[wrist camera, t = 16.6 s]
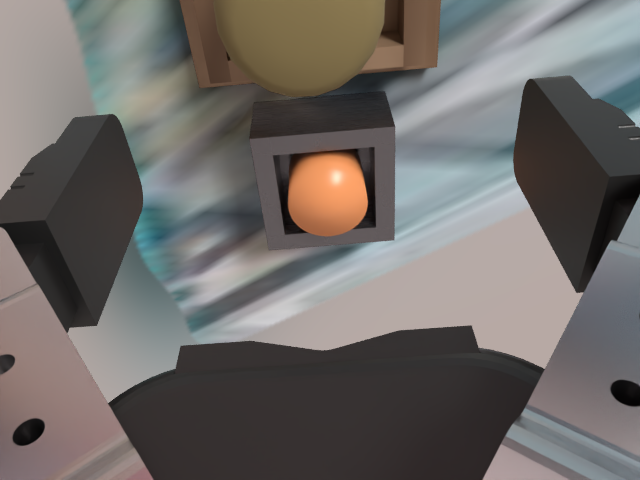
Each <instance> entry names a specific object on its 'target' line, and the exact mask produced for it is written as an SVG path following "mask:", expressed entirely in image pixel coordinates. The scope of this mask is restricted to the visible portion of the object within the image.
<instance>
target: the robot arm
mask: <svg viewBox="0 0 640 480" xmlns="http://www.w3.org/2000/svg"><path fill="white" fill-rule="evenodd" d="M513 163H514V172H515V177H516V180H517V183H518V185H519V186H520V188H521V190H522V192H523V194H524V196H525V198H526V199H527V201H528V203H529V205H530V207H531V209H532V211H533V212H534V214H535V216H536V218H537V220H538V222H539V224H540V226H541V227H542V229H543V231H544V233H545V235H546V236H547V238H548V240H549V242H550V244H551V246H552V248H553V250H554V251H555V254H556V255H557V257H558V259H559V261H560V263H561V265H562V266H563V268H564V270H565V272H566V274H567V276H568V278H569V280H570V281H571V283H572V285H573V287H574V289H575V291H576V292H577V293H580V292H584V293H583V295H582V297H581V299H580V301H579V304H578V305H577V307H576V309H575V311H574V313H573V315H572V317H571V319H570V321H569V323H568V325H567V327H566V329H565V331H564V333H563V335H562V337H561V338H560V340H559V342H558V344H557V346H556V348H555V350H554V352H553V354H552V356H551V358H550V360H549V362H548V364H547V366H546V368H545V369H543V368H542V367H539V366H537V365H535V364H533V363H530V362H528V361H526V360H524V359H521V358H518V357H515V356H512V355H509V354H506V353H502V352H497V351H494V350H489V349H483V348H478V345H477V342H476V339H475V335H474V332H473V329H472V326H457V327H443V328H429V329H415V330H401V331H396V332H392V333H389V334H385V335H382V336H378V337H374V338H371V339H367V340H364V341H360V342H357V343H353V344H350V345H346V346H343V347H339V348H336V349H332V350H324V351H321V350H312V349H305V348H298V347H291V346H283V345H276V344H269V343H262V342H255V341H243V342H229V343H215V344H201V345H186V346H181V347H180V352H179V356H178V360H177V365H176V369H173V370H170V371H167V372H164V373H161V374H159V375H156V376H154V377H151V378H149V379H147V380H145V381H143V382H141V383H139V384H137V385H135V386H133V387H132V388H130V389H128V390H127V391H125V392H124V393H122V394H120V395H119V396H117V397H116V398H115V399H113V400H112V401H111V402H109V403H107V401H106V399H105V398H104V396H103V394H102V393H101V391H100V389H99V387H98V386H97V384H96V382H95V381H94V379H93V377H92V375H91V374H90V372H89V370H88V369H87V367H86V365H85V363H84V362H83V360H82V358H81V357H80V355H79V353H78V352H77V350H76V348H75V346H74V345H73V343H72V341H71V340H70V338H69V336H68V335H67V333H68V330H69V328H70V327H84V326H97V324H98V321H99V319H100V316H101V314H102V311H103V308H104V306H105V303H106V301H107V298H108V296H109V293H110V291H111V288H112V285H113V283H114V280H115V278H116V275H117V273H118V270H119V267H120V265H121V262H122V260H123V257H124V255H125V252H126V250H127V247H128V245H129V242H130V239H131V237H132V234H133V232H134V229H135V227H136V224H137V222H138V219H139V216H140V214H141V211H142V207H143V191H142V185H141V182H140V178H139V175H138V172H137V169H136V166H135V163H134V160H133V158H132V155H131V152H130V149H129V146H128V143H127V140H126V137H125V134H124V131H123V128H122V125H121V123H120V121H119V119H118V118H117V117H116V116H115V115H113V114H108V115H96V116H85V117H75V118H73V119H72V121H71V122H70V124H69V125H68V126H67V128H66V129H65V130H64V132H63V133H62V135H61V136H60V137H59V139H58V140H57V142H56V143H55V144H51V145H50V146H48V147H47V148H45V149H44V150H43V151H41V152H40V153H38V154H37V155H35V156H34V157H33V158H31V160H30V161H29V162H28V164H27V165H26V166H25V168H24V169H23V171H22V172H21V173H20V177H17V178H16V180H15V181H14V182H13V184H12V185H11V190H8V191H7V192H6V193H5V195H4V196H3V197H2V199H1V200H0V480H640V128H639V127H635V123H634V122H633V121H632V120H631V119H630V118H629V117H628V116H627V115H626V114H625V113H624V112H623V111H622V110H621V109H619V108H617V107H615V106H613V105H611V104H609V103H607V102H604V101H602V100H600V99H592V98H591V97H590V96H589V95H588V93H587V92H586V91H585V90H584V89H583V88H582V87H581V86H580V85H579V84H578V83H577V82H576V80H575V79H574V78H573V77H571V76H559V77H547V78H535V79H529V80H528V81H527V82H526V84H525V87H524V90H523V95H522V102H521V108H520V115H519V121H518V128H517V134H516V141H515V147H514V157H513Z"/></svg>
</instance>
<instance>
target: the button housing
mask: <svg viewBox="0 0 640 480" xmlns="http://www.w3.org/2000/svg"><path fill="white" fill-rule="evenodd" d="M249 140H250V146H251V151H252V157H253V163H254V168H255V174H256V179H257V185H258V191H259V196H260V202H261V208H262V213H263V219H264V225H265V230H266V236H267V241H268V247H269V250H279V249H291V248H304V247H316V246H328V245H341V244H353V243H365V242H378V241H390V240H394V220H395V124H394V121H393V118H392V114H391V111H390V107H389V104H388V100H387V97H386V93H385V91H382V92H370V93H359V94H348V95H336V96H325V97H313V98H302V99H290V100H279V101H268V102H256V103H254V108H253V116H252V123H251V131H250V138H249ZM343 149H355V150H356V151H357V153H358V155H359V157H360V160H361V164H362V170H363V176H364V182H365V187H366V193H367V200H368V206H367V211H366V213H365V216H364V217H363V219H362V220H361V222H360V223H359V224H358V225H357V226H355V227H354V228H353V229H351V230H350V231H348V232H346V233H343V234H340V235H336V236H318V235H314V234H311V233H308V232H306V231H304V230H303V229H301V228H300V227H299V226H298V225H297V224H296V223H295V222H294V221H293V219H292V218H291V215H290V213H289V209H288V190H289V164H290V160H291V158H292V156H293V154H296V153H307V152H319V151H331V150H343Z"/></svg>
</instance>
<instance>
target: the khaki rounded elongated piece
mask: <svg viewBox="0 0 640 480" xmlns="http://www.w3.org/2000/svg"><path fill="white" fill-rule="evenodd" d="M213 5H214V12H215V18H216V25H217V31H218V34H219V36H220V38H221V40H222V42H223V44H224V46H225V49H226V51H227V53H228V55H229V57H230V59H231V60H232V62H233V63H234V64H235V65H236V66H237V67H238V68H239V69H240V70H241V71H242V73H243V74H244V75H245V76H246V77H247V78H248V79H250V80H251V81H253V82H255V83H256V84H258V85H260V86H261V87H263V88H265V89H266V90H268V91H270V92H274V93H278V94H282V95H286V96H290V97H305V96H318V95H321V94H323V93H326V92H329V91H332V90H335V89H337V88H340V87H341V86H342V85H344V84H345V83H346V82H348V81H349V80H350V79H352V78H353V77H354V76H356V75H357V74H358V73H359V72H360V71H361V69H362V68H363V67H364V65H365V64H366V63H367V61H368V60H369V59H370V57H371V56H372V55H373V53H374V51H375V48H376V45H377V42H378V39H379V37H380V34H381V31H382V28H383V25H384V15H385V0H214V2H213Z"/></svg>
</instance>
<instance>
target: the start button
mask: <svg viewBox="0 0 640 480" xmlns="http://www.w3.org/2000/svg"><path fill="white" fill-rule="evenodd" d="M367 206H368V200H367V193H366V187H365V182H364V176H363V170H362V164H361V160H360V157H359V155H358V153H357V151H356V150H355V149H343V150H331V151H319V152H307V153H296V154H293V156H292V158H291V160H290V164H289V190H288V209H289V213H290V215H291V218H292V219H293V221H294V222H295V223H296V224H297V225H298V226H299V227H300V228H301V229H303V230H304V231H306V232H308V233H311V234H314V235H318V236H336V235H340V234H343V233H346V232H348V231H350V230H351V229H353V228H354V227H355V226H357V225H358V224H359V223H360V222H361V220H362V219H363V217H364V216H365V213H366V211H367Z"/></svg>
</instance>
